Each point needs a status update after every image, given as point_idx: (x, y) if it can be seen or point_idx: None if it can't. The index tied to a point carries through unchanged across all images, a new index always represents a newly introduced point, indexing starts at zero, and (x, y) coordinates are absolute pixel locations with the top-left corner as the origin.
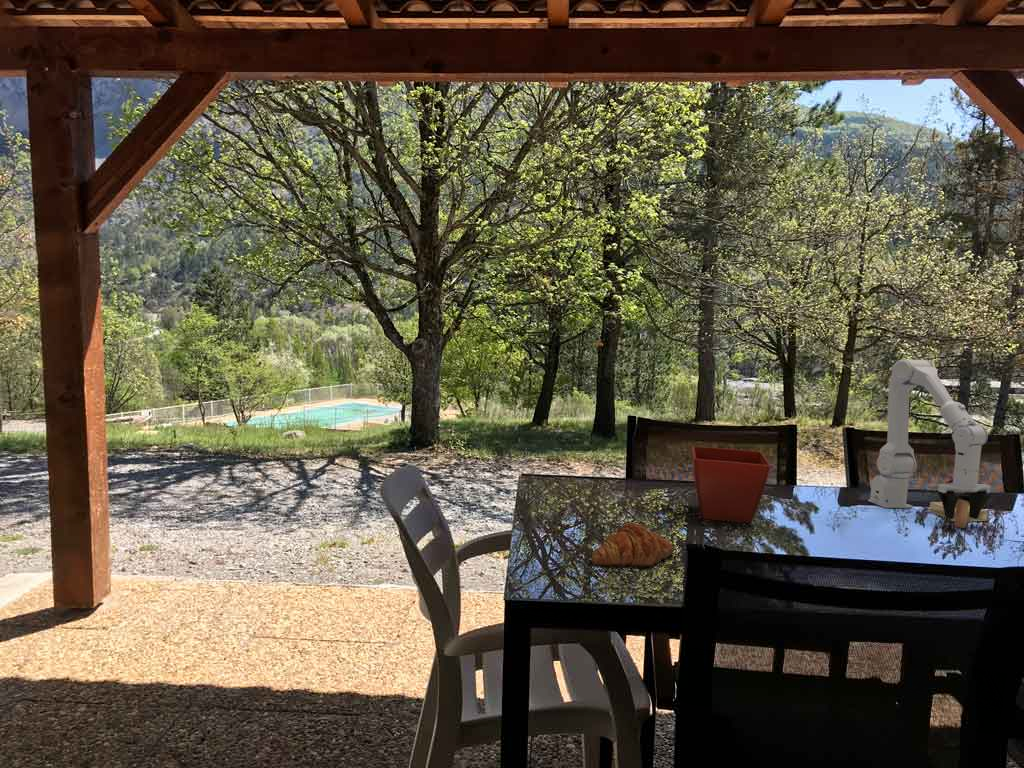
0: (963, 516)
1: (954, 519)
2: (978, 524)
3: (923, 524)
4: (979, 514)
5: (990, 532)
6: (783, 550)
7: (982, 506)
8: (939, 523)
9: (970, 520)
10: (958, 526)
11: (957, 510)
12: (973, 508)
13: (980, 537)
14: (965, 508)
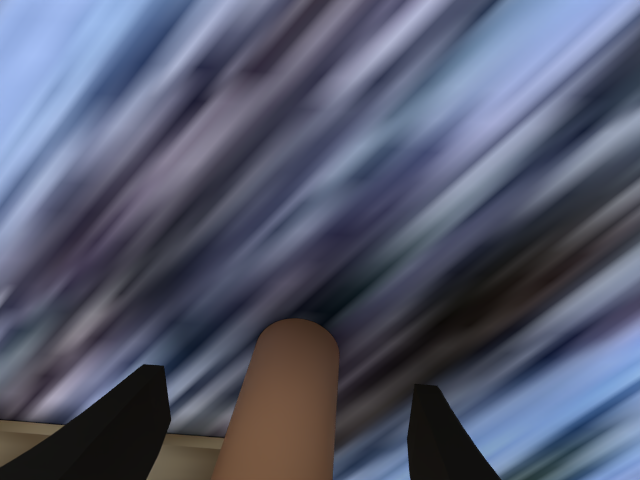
0: (304, 388)
1: None
2: (94, 377)
3: (579, 424)
4: None
5: (150, 184)
6: None
7: (34, 451)
8: None
9: None
10: (333, 342)
11: (332, 471)
12: (120, 475)
13: (400, 38)
14: (278, 458)
